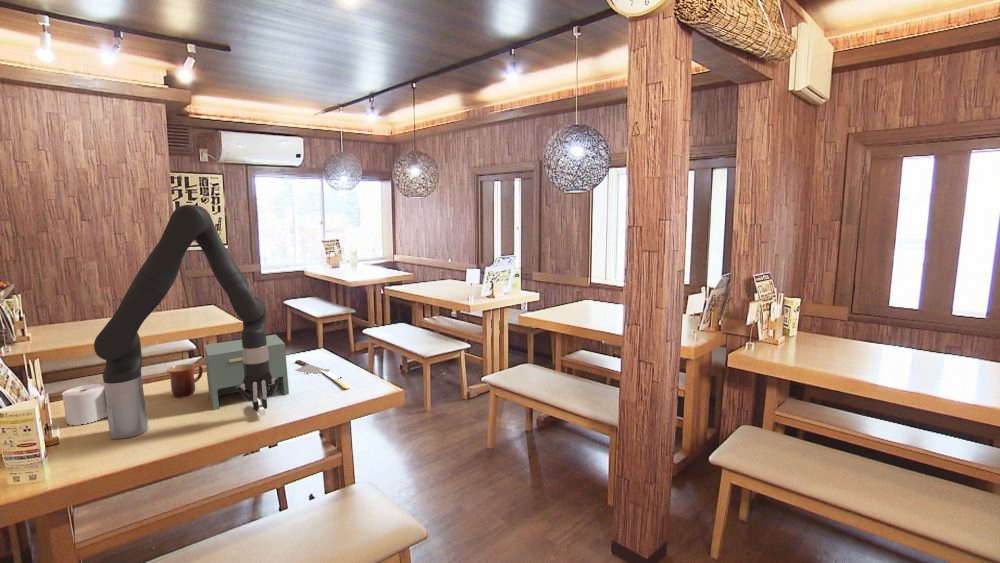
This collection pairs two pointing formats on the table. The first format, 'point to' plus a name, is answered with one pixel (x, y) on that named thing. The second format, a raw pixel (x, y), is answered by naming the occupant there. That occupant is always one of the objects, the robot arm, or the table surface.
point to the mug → (183, 379)
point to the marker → (260, 409)
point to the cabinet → (240, 366)
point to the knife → (336, 379)
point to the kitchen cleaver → (309, 368)
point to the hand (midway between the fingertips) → (260, 410)
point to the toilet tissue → (85, 404)
